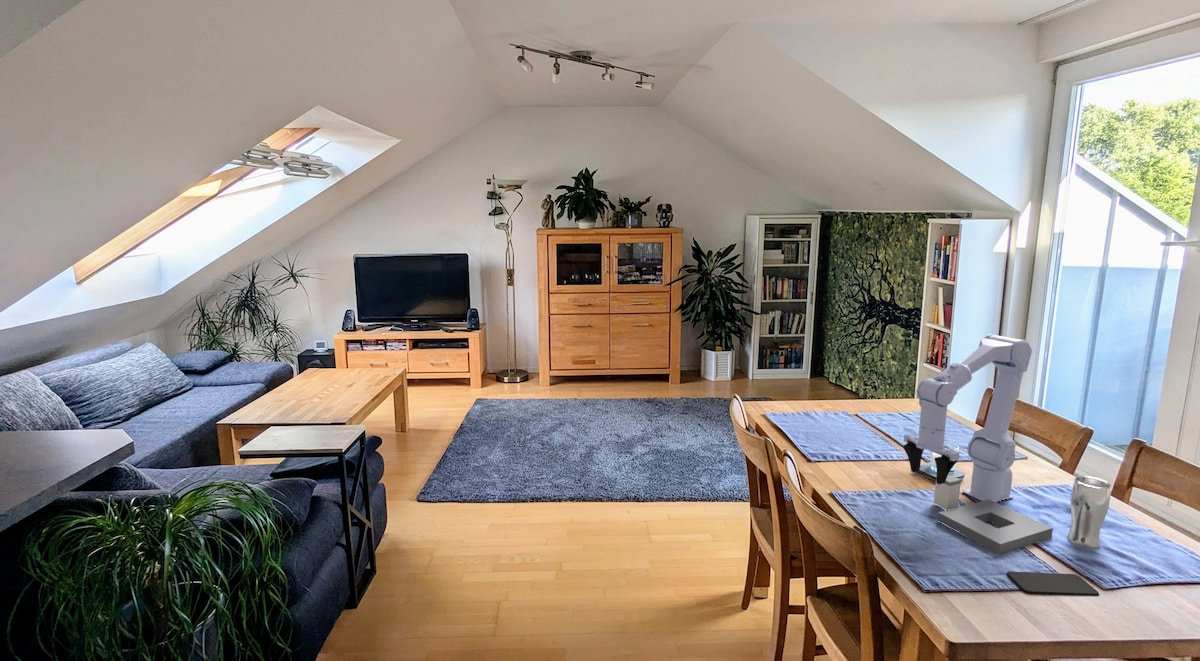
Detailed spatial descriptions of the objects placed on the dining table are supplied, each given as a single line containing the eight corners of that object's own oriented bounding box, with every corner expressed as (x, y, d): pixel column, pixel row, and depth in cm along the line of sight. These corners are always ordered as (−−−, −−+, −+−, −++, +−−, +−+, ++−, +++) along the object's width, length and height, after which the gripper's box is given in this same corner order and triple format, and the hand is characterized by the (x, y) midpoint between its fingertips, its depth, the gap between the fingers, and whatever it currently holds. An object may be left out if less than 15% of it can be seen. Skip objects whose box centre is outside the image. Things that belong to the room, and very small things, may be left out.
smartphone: (1102, 594, 124) (1025, 591, 125) (1101, 598, 124) (1025, 595, 125) (1076, 573, 131) (1004, 570, 132) (1075, 577, 131) (1003, 574, 132)
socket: (987, 508, 161) (988, 499, 160) (1051, 537, 146) (1052, 528, 146) (937, 521, 154) (938, 512, 154) (999, 554, 139) (1000, 544, 139)
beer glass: (1095, 536, 146) (1104, 477, 143) (1107, 551, 140) (1117, 490, 137) (1060, 532, 149) (1068, 473, 146) (1071, 546, 142) (1080, 486, 139)
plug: (944, 501, 164) (947, 473, 163) (957, 508, 161) (961, 479, 159) (933, 504, 163) (936, 476, 161) (946, 511, 159) (949, 482, 158)
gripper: (896, 419, 160) (892, 469, 162) (946, 438, 146) (941, 491, 149) (916, 416, 162) (912, 464, 165) (967, 434, 149) (962, 486, 152)
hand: (927, 477), depth 157 cm, fingers open, 7 cm apart
